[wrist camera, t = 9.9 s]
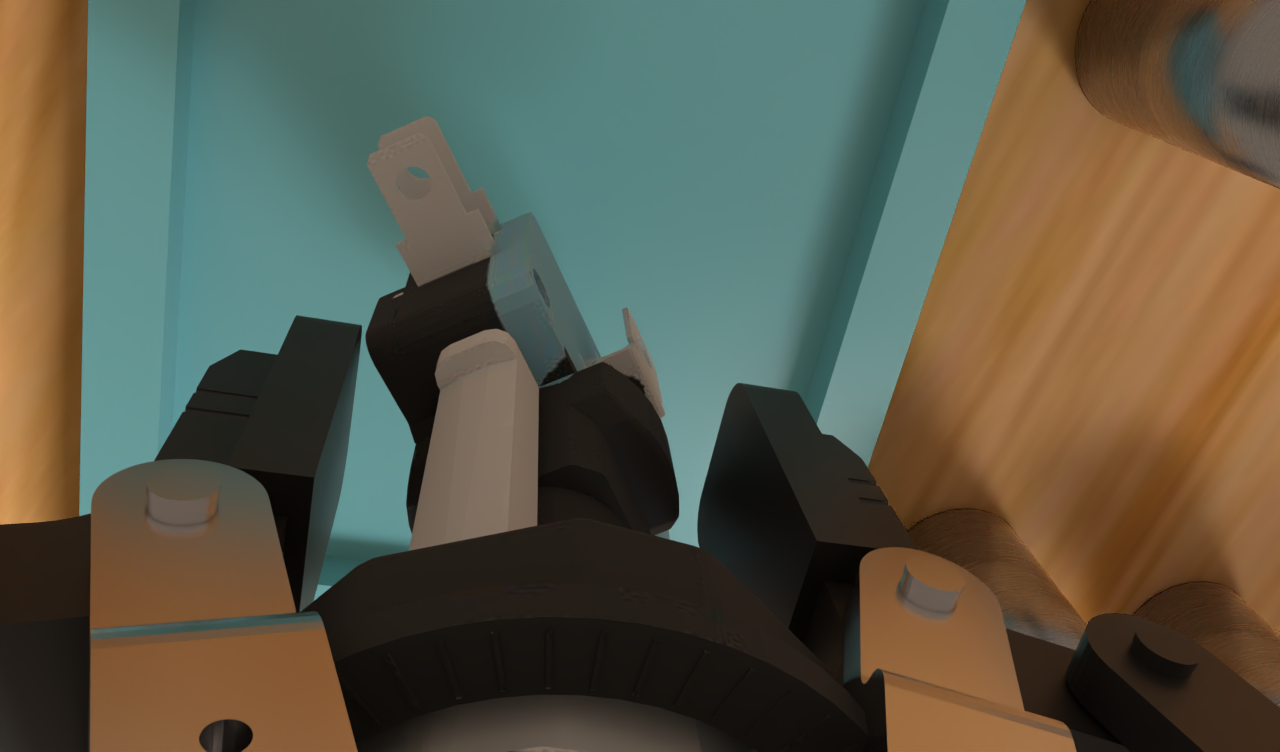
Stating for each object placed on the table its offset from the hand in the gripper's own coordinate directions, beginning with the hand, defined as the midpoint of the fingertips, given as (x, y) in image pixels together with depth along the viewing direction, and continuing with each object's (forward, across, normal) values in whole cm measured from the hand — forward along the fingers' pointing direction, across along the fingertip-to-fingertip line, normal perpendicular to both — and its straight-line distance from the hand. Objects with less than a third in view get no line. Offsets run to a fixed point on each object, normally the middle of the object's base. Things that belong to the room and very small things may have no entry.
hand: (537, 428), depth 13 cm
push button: (+3, 0, 0) cm, 3 cm away
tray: (+7, 0, 0) cm, 7 cm away
